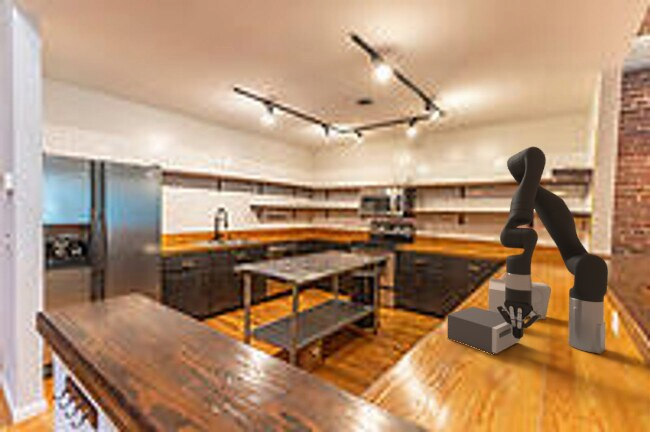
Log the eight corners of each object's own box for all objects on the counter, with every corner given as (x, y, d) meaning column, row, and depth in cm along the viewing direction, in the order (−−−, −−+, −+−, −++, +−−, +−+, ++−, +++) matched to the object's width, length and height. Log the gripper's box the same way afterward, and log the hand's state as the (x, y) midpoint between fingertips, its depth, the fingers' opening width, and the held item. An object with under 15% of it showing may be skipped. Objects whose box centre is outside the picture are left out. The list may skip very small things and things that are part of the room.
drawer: (521, 341, 107) (521, 318, 107) (497, 353, 97) (497, 329, 97) (476, 327, 120) (476, 307, 120) (451, 337, 110) (451, 315, 110)
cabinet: (515, 342, 108) (515, 317, 108) (491, 354, 98) (491, 327, 98) (472, 328, 121) (472, 306, 121) (447, 338, 111) (447, 314, 111)
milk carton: (507, 327, 123) (507, 281, 123) (488, 323, 128) (488, 279, 128) (509, 322, 129) (509, 278, 129) (490, 318, 133) (491, 276, 133)
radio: (494, 313, 140) (495, 261, 140) (494, 309, 148) (494, 259, 148) (552, 321, 130) (552, 265, 130) (548, 316, 138) (548, 262, 138)
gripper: (492, 284, 103) (492, 334, 103) (536, 292, 92) (536, 348, 92) (502, 281, 107) (502, 329, 107) (545, 289, 97) (545, 342, 96)
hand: (517, 338), depth 100 cm, fingers closed
